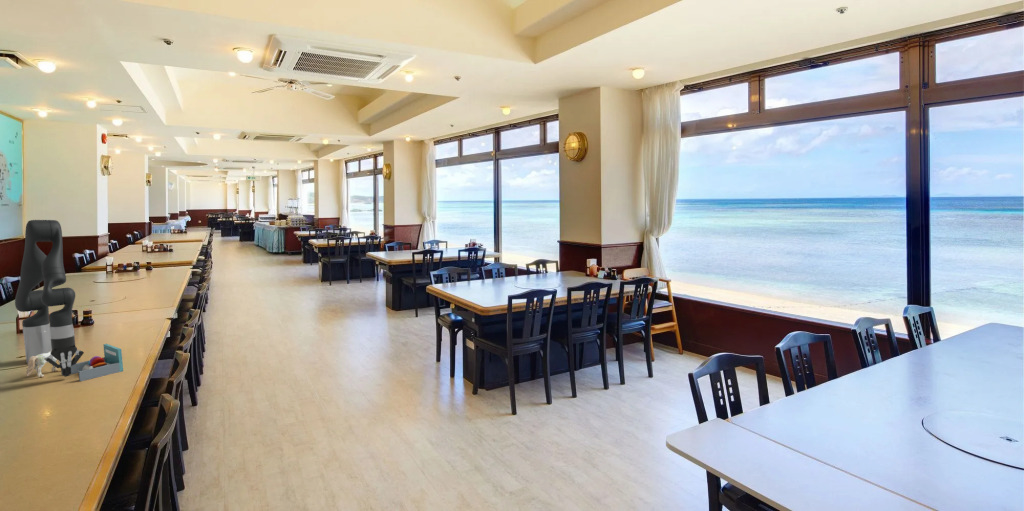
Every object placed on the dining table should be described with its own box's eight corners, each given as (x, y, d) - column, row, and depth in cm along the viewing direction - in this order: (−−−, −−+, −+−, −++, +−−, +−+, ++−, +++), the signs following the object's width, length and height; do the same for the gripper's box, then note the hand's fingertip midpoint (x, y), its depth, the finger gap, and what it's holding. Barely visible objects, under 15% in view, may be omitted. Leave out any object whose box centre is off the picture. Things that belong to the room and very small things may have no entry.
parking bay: (66, 374, 222) (64, 352, 221) (108, 364, 235) (106, 343, 234) (80, 381, 214) (78, 358, 213) (123, 371, 227) (121, 349, 226)
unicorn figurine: (78, 365, 235) (75, 336, 233) (43, 380, 216) (39, 349, 214) (62, 365, 234) (59, 337, 233) (24, 380, 215) (21, 349, 214)
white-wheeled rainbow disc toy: (90, 377, 219) (88, 361, 218) (81, 373, 224) (79, 357, 223) (113, 371, 226) (112, 355, 226) (104, 368, 231) (103, 352, 231)
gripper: (78, 331, 222) (82, 370, 224) (38, 338, 211) (42, 379, 213) (85, 333, 218) (89, 373, 220) (45, 340, 207) (49, 382, 209)
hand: (66, 375), depth 216 cm, fingers closed
